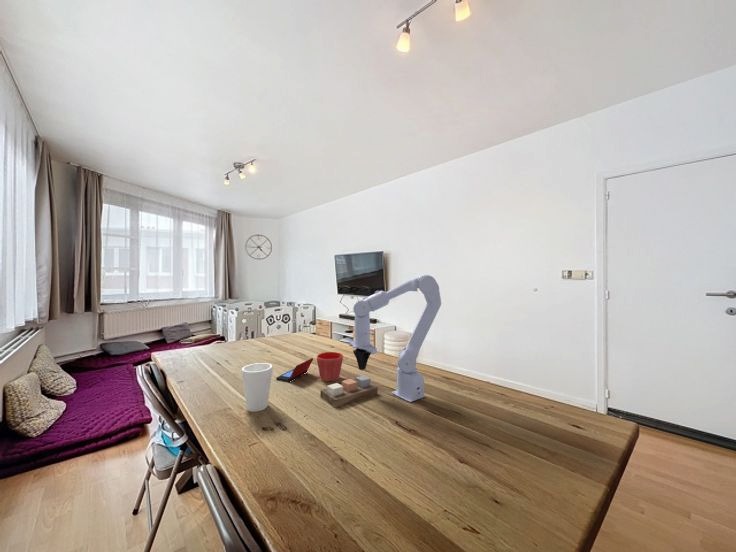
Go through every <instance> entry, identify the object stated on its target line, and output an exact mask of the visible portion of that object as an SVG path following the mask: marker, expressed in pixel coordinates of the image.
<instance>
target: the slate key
mask: <svg viewBox="0 0 736 552" xmlns="http://www.w3.org/2000/svg"><path fill="white" fill-rule="evenodd" d="M354 381H356V382H357V386H359V387H361V388H363V387H367V386H370V383H371V377H368V376H367V375H360V376H357V377H355V380H354Z"/></svg>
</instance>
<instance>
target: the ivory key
mask: <svg viewBox="0 0 736 552" xmlns="http://www.w3.org/2000/svg"><path fill="white" fill-rule="evenodd" d="M326 389H327V393H328V394H329V395H331V396H337V395H340V394H343V386H341V383H340V384H339V383H338V382H336V383H332V384H329V385H327V386H326Z"/></svg>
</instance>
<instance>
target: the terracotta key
mask: <svg viewBox="0 0 736 552" xmlns="http://www.w3.org/2000/svg"><path fill="white" fill-rule="evenodd" d="M341 384H342V386H343V390H345V391H347V392H350V391H353V390H357V382H356V381H355V380H354V379H352V378H348V379H344V380H341Z"/></svg>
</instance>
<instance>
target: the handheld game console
mask: <svg viewBox="0 0 736 552" xmlns="http://www.w3.org/2000/svg"><path fill="white" fill-rule="evenodd" d="M313 361H314V358H313V357H311V358H310V359H307V360H305V361H303V362H301V363H299V364H297V365H296V366H295V367H294V368H293V369H291V370H288V371H287V372H285V373H283V374H279V376H276V379H277V381H279V380H283V381H282V382H284V381H288V382H287V383H291V382H290V381H292V380H293V381H295V380H297V379H298V378H300V377H302V376H301V375H302V374H304V373H306V372H307V371H308V370H309V368H310V366H311V364H312V362H313ZM307 373H308V372H307ZM307 373H306V374H307ZM304 375H305V374H304ZM299 376H300V377H299ZM297 377H298V378H297ZM296 378H297V379H296ZM294 379H295V380H294ZM293 381H292V382H293Z"/></svg>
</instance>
